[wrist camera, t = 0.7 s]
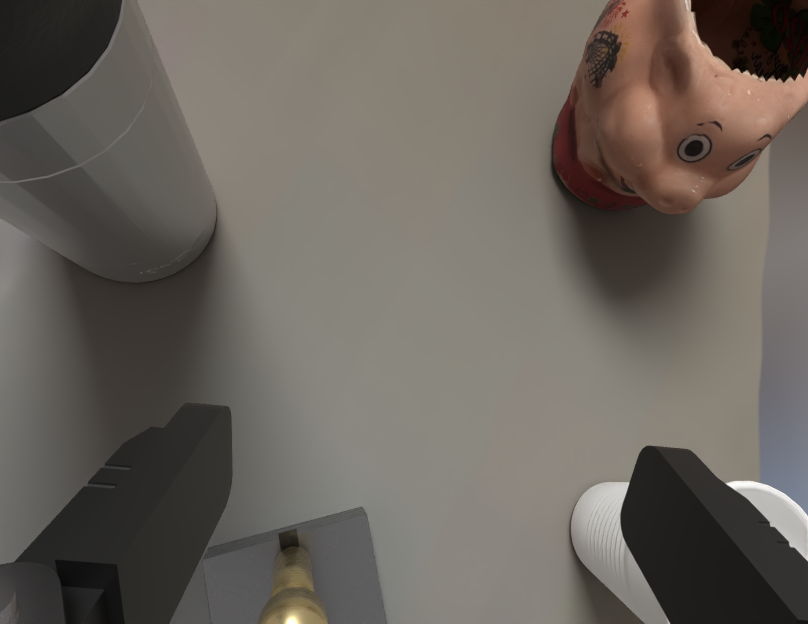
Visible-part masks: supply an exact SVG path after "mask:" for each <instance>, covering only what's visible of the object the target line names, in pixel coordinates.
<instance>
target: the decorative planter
mask: <svg viewBox="0 0 808 624" xmlns="http://www.w3.org/2000/svg"><path fill="white" fill-rule="evenodd" d="M807 101H808V0H610V1H609V2H608V4H607V5H606V7H605V9H604V10H603V12H602V14H601V16H600V17H599V19H598V21H597V23H596V25H595V27H594V29H593V31H592V32H591V34H590V36H589V38H588V41H587V43H586V46H585V50H584V54H583V58H582V61H581V63H580V65H579V67H578V70H577V72H576V76H575V78H574V81H573V83H572V86H571V90H570V93H569V96H568V99H567V101H566V102H565V104H564V106H563V108H562V110H561V111H560V113H559V116H558V119H557V121H556V125H555V130H554V137H553V143H554V147H553V164H554V167H555V170H556V172H557V173H558V175H559V177H560V178H561V180H562V182H563V183H564V184H565V186H566V187H567V188H568V189H569V190H570V191H571V192H572V193H573V194H574V195H575V196H577V197H578V198H579V199H581V200H582V201H584V202H586V203H588V204H590V205H592V206H594V207H597V208H601V209H606V210H628V209H632V208H636V207H639V206H642V205H645V204H647V203H648V204H649V205H651V206H652V207H653V208H655V209H656V210H658V211H660V212H662V213H665V214H677V215H678V214H683V213H687V212H690V211H692V210H693V209H694V208H695V207H696V206H697V205H698V204H699V203H700V202H701V201H702V200H703V199H710V198H717V197H720V196H723V195H726V194H728V193H729V192H731V191H733V190H734V189H735V188H736V187H738V186H739V185H740V184H741V183H742V182H743V181H744V180H745V179H746V177H747V176H748V175H749V173H750V172H751V170H752V169H753V167H754V166H755V164H756V162H757V160H758V158H759V157H760V155H761V153H762V151H763V150H764V149H765V148H766V146H767V145H768V144H769V143H770V142H771V141H772V140H773V139H774V138H775V136H776V135H777V134H778V133H779V132H780V131H781V130H782V129H783V128H784V127H785V126H786V125H787V124H788V123H789V122H790V121H791V120H792V119H793V118H794V117H795V116H796V115H797V114H798V113H799V112H800V110H801V109H802V108H803V106H804V105H805V104H806V102H807Z"/></svg>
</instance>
